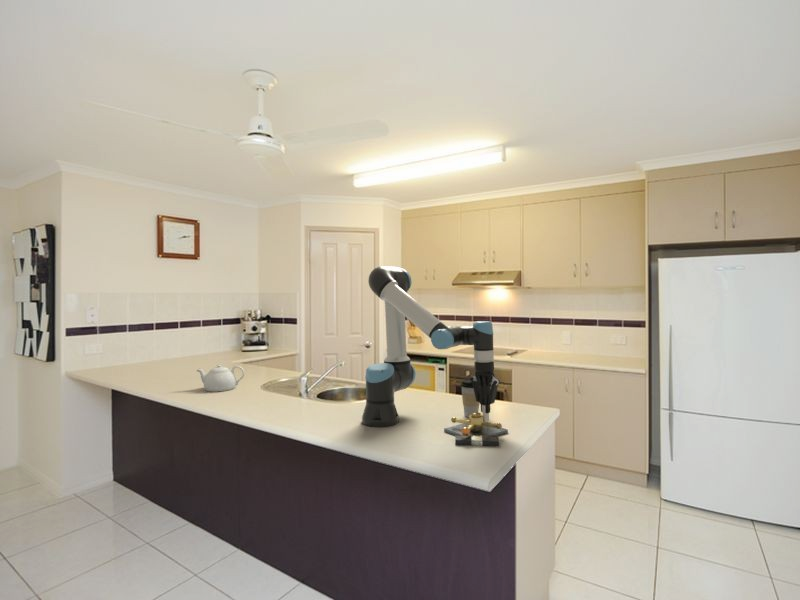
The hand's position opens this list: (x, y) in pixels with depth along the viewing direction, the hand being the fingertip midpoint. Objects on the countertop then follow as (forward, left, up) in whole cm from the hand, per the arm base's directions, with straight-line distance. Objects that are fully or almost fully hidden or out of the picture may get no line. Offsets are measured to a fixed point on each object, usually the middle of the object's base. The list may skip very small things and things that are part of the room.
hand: (485, 420), depth 174 cm
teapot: (-62, +140, -3) cm, 154 cm away
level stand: (-10, -4, -3) cm, 11 cm away
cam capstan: (-9, -2, -2) cm, 9 cm away
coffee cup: (+9, +16, -3) cm, 19 cm away
